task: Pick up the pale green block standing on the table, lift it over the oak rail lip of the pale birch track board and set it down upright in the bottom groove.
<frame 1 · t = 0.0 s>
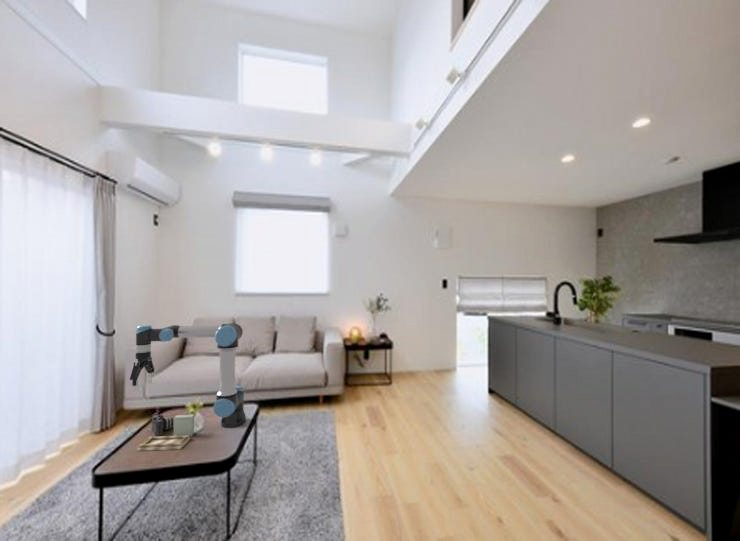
hand: (142, 387, 196), 28 cm above the table, fingers open, 13 cm apart
track board: (164, 444, 184), on the table
camera: (162, 431, 200), on the table
pale green block: (183, 434, 196), on the table
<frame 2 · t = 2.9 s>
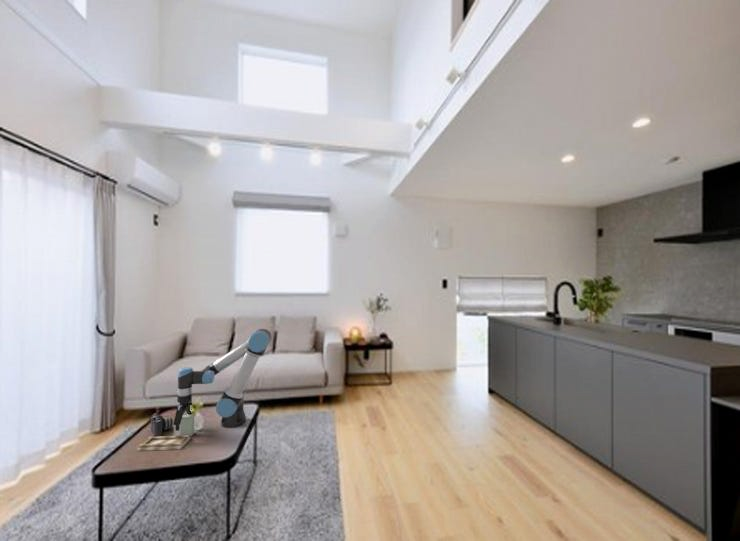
hand: (183, 430, 196), 3 cm above the table, fingers open, 13 cm apart
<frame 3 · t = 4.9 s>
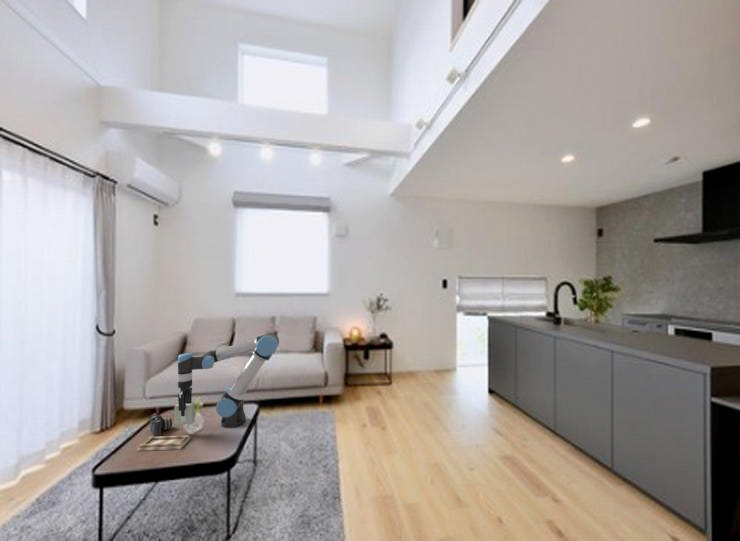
hand: (185, 419, 196), 9 cm above the table, fingers closed on pale green block, 3 cm apart
pale green block: (184, 423, 196), point 7 cm above the table, touching gripper
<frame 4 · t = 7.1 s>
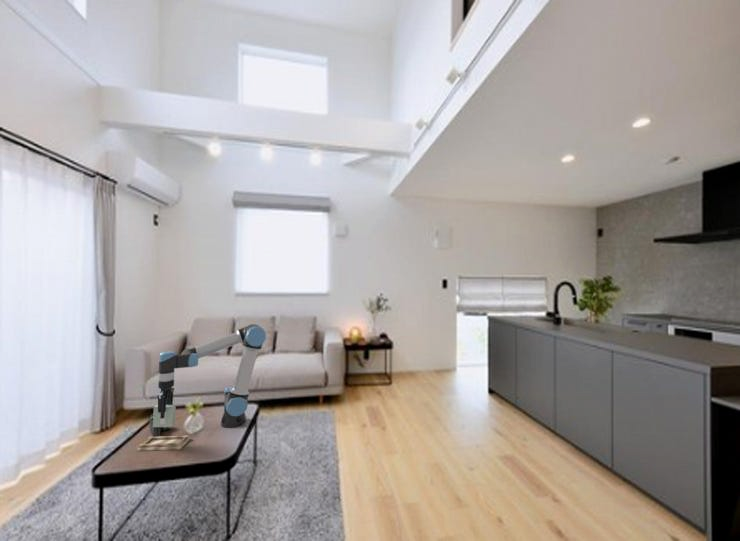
hand: (165, 421, 184), 13 cm above the table, fingers closed on pale green block, 3 cm apart
pale green block: (163, 425, 184), point 10 cm above the table, touching gripper
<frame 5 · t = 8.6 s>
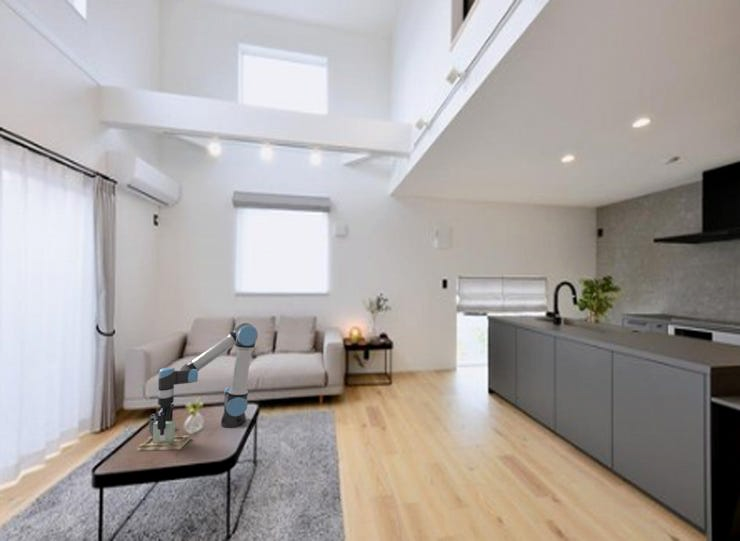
hand: (164, 438, 184), 3 cm above the table, fingers closed on pale green block, 3 cm apart
pale green block: (163, 442, 184), point 1 cm above the table, touching gripper
when the fingers open (3 cm above the table, at t = 9.3 s): pale green block stays where it is, resting on track board.
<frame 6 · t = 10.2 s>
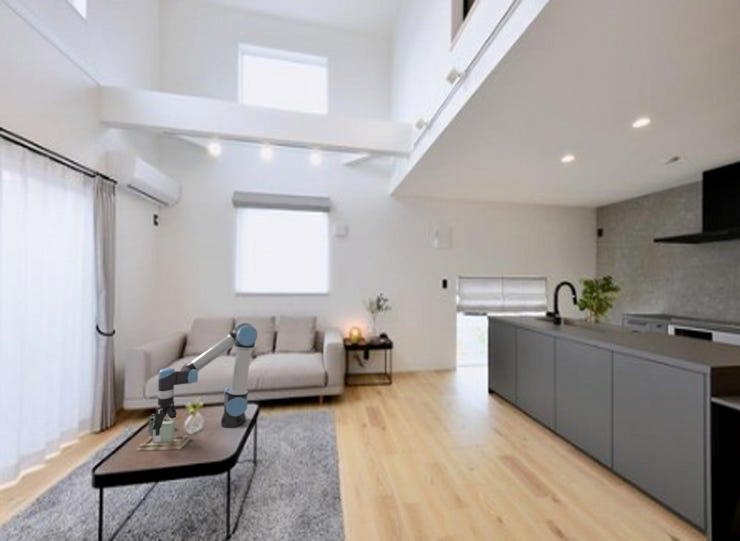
hand: (164, 435, 184), 5 cm above the table, fingers open, 13 cm apart
pale green block: (163, 442, 184), point 1 cm above the table, touching track board
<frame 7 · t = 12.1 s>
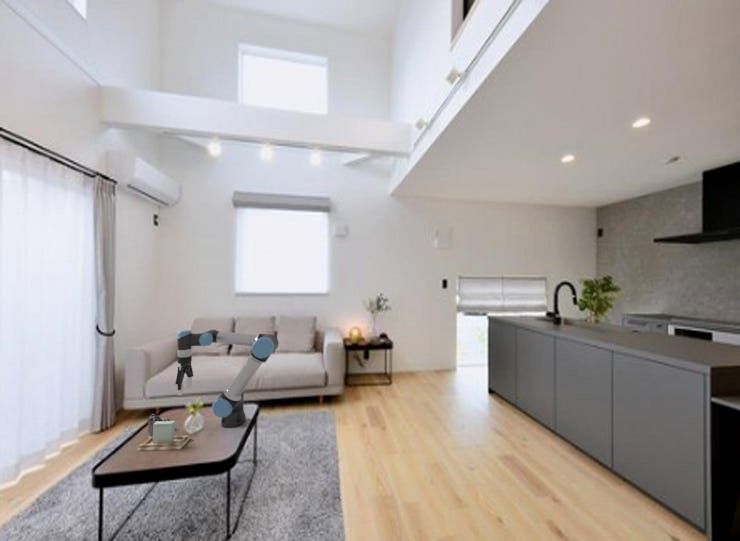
hand: (184, 391, 199), 25 cm above the table, fingers open, 13 cm apart
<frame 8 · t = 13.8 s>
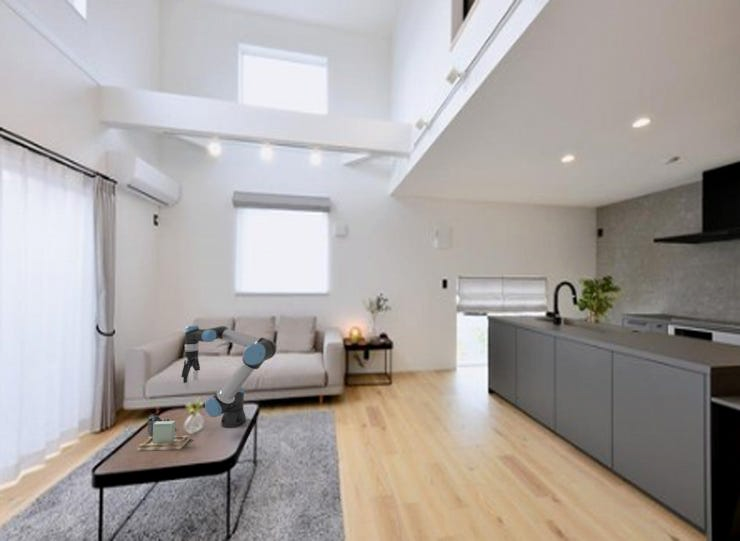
hand: (190, 384, 206), 27 cm above the table, fingers open, 13 cm apart
at the end: pale green block inside the target area on the track board (0.6 cm from its centre), point 1.2 cm above the track board's base; pale green block tilted 0°; the gripper is holding nothing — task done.
